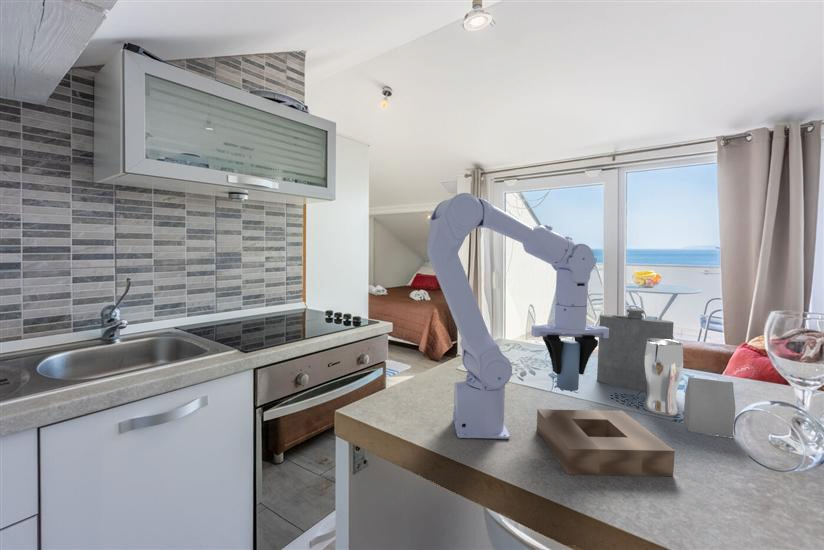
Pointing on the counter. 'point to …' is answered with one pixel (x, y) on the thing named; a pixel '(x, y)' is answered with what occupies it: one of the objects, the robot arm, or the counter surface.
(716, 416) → the grey angular block
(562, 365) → the peg
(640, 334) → the hip flask
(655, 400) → the silver metal tumbler
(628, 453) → the socket board
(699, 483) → the counter surface
